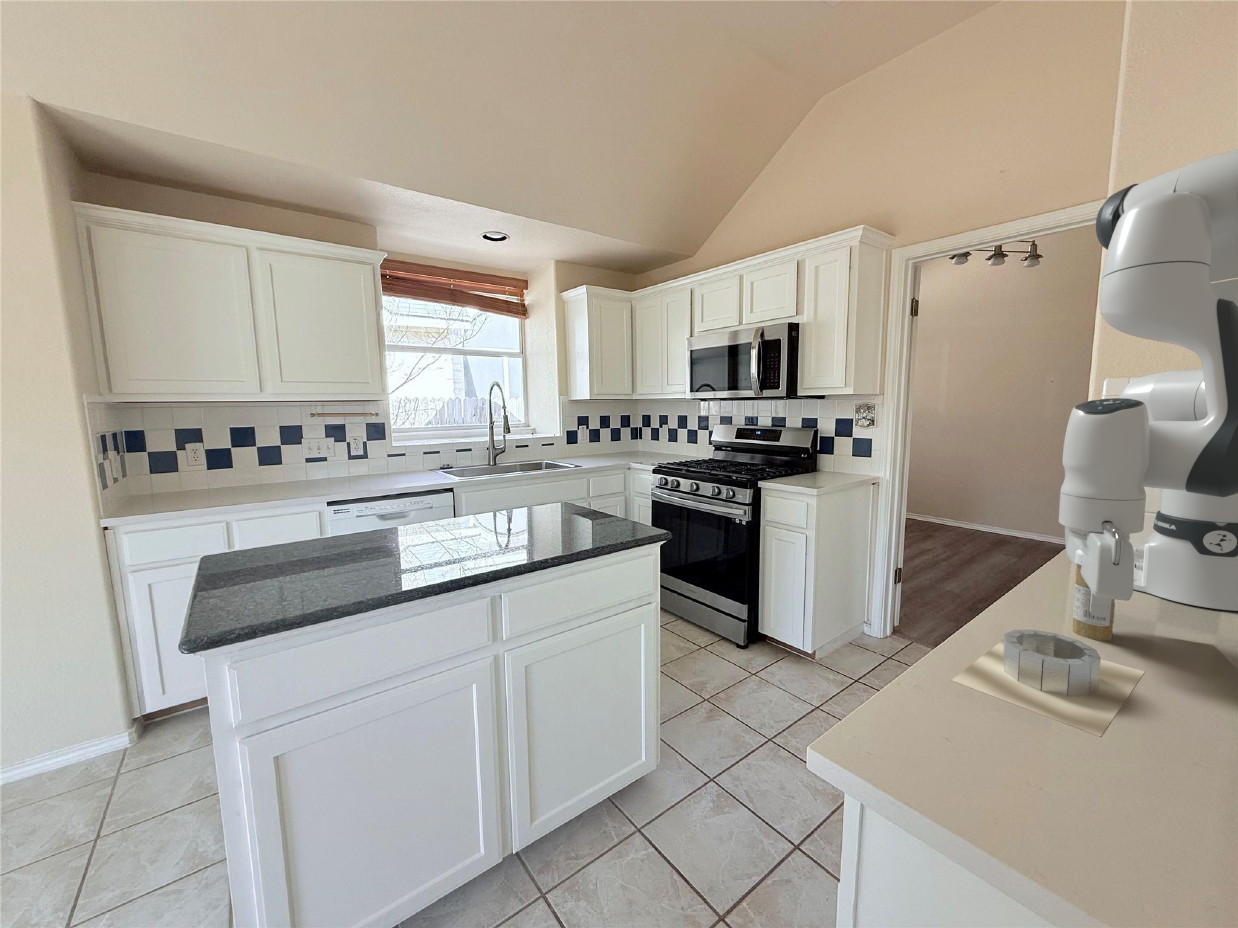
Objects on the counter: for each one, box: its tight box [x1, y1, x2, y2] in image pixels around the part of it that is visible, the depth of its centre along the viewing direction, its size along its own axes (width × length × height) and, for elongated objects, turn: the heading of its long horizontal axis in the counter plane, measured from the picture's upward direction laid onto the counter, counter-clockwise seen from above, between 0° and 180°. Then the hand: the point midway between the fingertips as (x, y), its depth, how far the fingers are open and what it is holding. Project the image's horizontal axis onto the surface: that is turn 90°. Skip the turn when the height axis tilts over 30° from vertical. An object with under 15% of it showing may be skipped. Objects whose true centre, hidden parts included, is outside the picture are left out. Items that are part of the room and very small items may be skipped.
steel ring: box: [1003, 629, 1102, 697], centre depth 64 cm, size 9×9×4 cm
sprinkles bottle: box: [1072, 550, 1116, 641], centre depth 74 cm, size 5×5×14 cm
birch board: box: [950, 638, 1145, 738], centre depth 65 cm, size 20×14×1 cm
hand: (1093, 607), depth 74 cm, fingers closed on sprinkles bottle, 4 cm apart
